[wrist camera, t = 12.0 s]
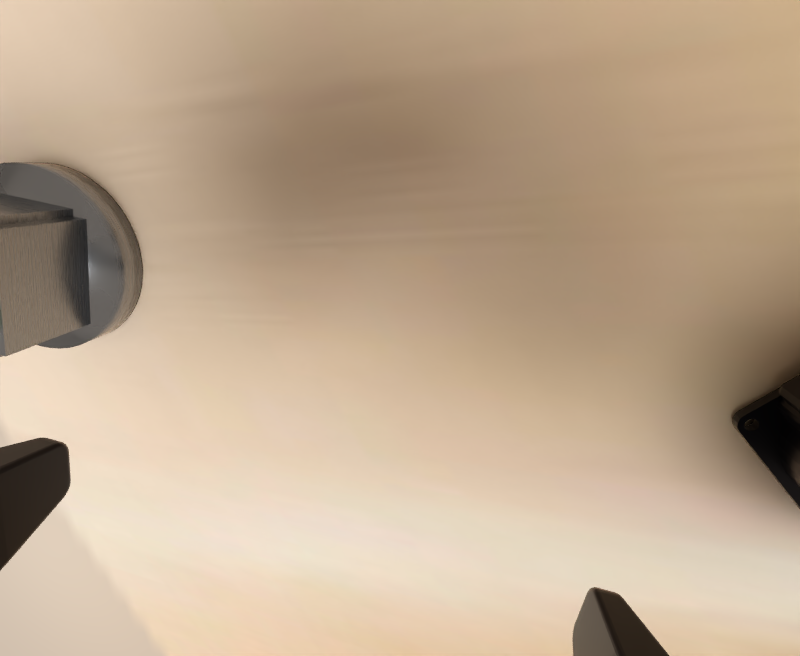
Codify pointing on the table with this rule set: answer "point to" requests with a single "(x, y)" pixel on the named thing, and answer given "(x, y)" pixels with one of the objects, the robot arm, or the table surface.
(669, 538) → the table surface
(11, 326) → the stand
